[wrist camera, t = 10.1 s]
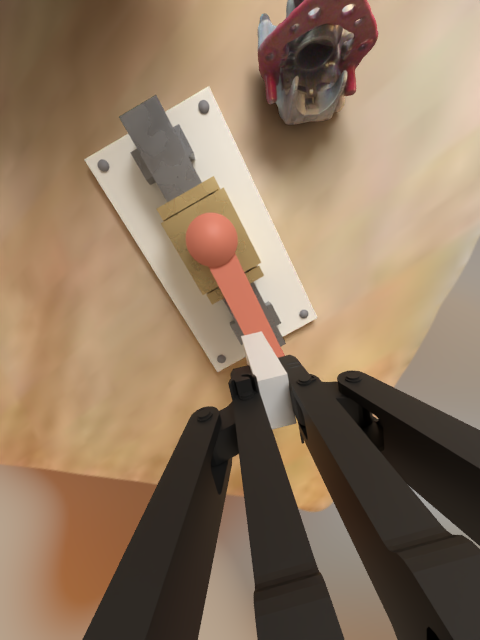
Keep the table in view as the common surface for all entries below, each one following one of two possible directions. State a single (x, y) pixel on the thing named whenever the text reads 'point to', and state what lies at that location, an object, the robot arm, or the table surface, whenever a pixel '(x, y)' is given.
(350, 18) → the brake caliper
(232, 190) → the mount board
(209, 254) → the lever
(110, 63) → the table surface
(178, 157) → the pipe valve
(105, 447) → the table surface
